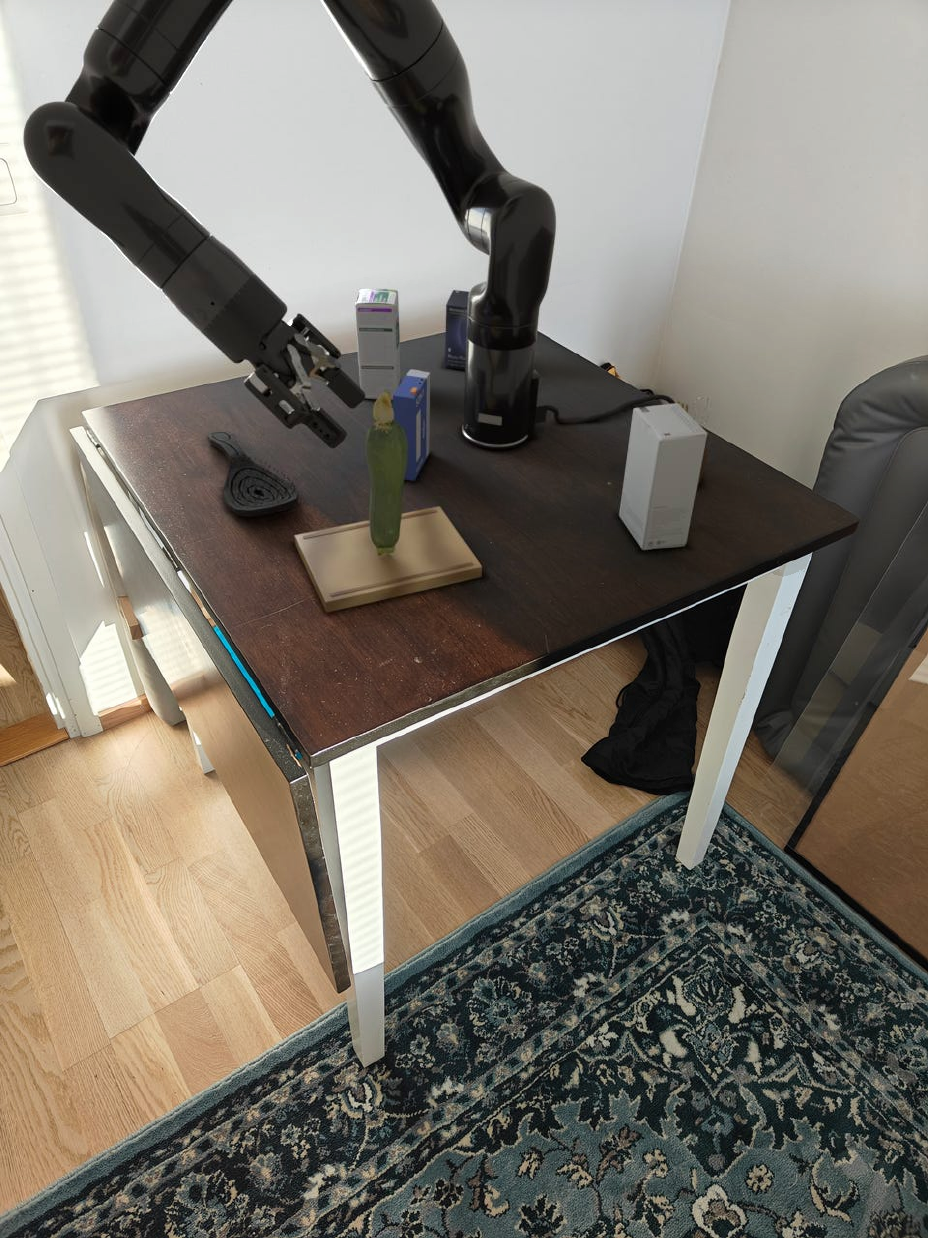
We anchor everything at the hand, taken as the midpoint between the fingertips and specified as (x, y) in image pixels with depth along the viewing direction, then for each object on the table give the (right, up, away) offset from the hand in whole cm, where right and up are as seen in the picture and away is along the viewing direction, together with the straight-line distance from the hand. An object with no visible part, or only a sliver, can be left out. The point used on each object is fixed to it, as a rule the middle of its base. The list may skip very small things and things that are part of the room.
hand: (350, 421), depth 88 cm
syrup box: (-1, +14, +44) cm, 46 cm away
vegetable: (+3, -13, +10) cm, 16 cm away
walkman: (+5, 0, +27) cm, 28 cm away
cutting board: (+3, -13, +11) cm, 18 cm away
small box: (+14, +21, +52) cm, 58 cm away
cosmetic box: (+34, -9, +18) cm, 40 cm away
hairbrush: (-17, -2, +23) cm, 29 cm away
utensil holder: (+40, -2, +27) cm, 48 cm away
